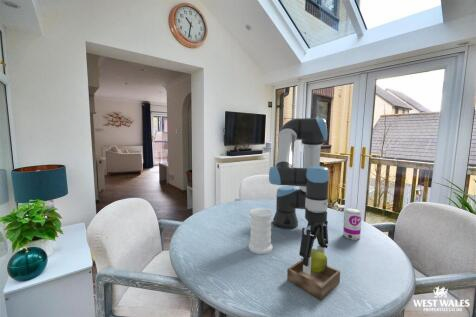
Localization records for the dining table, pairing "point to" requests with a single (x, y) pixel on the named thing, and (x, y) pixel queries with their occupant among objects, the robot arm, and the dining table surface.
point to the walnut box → (314, 280)
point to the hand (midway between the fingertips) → (313, 267)
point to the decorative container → (260, 231)
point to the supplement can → (352, 223)
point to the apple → (317, 261)
